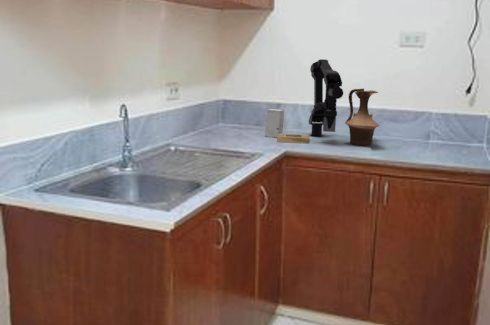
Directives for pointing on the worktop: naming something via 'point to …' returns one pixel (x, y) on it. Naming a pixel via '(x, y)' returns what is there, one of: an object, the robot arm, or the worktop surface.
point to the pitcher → (361, 119)
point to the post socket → (293, 138)
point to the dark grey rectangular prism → (325, 125)
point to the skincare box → (274, 122)
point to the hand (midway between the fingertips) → (329, 128)
